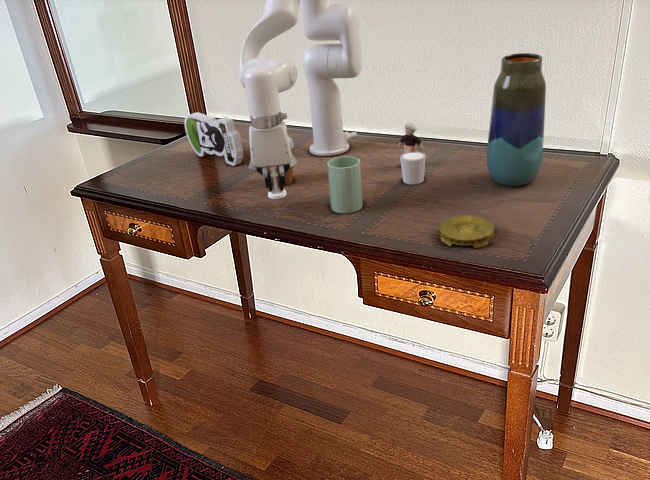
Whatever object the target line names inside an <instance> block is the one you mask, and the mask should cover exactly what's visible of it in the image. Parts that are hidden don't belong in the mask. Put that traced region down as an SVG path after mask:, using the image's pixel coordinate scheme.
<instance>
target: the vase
mask: <svg viewBox="0 0 650 480" xmlns="http://www.w3.org/2000/svg"><path fill="white" fill-rule="evenodd" d="M542 67H543V56H542V55H540V54H538V53H530V52H529V53H528V52H521V53H520V52H519V53H512V54H508V55H505V56H503V57H502V58H501V62H500V71H499V74H498V76H497V78H496V80H495V82H494V85H493V92H492V99H491V100H492V101H491V109H490V118H489V128H488V137H487V148H486V166H487V171H488V173H489V175H490V176H491V178H492V179H493V180H494V182H495V183H498V184H500V185H502V186H506V187H507V186H508V187H520V186H525V185H526V184H528V183H530V182H532V181H533V180H534V179H535V177H536V176H537V175H538V173H539V172H540V169H541V167H542V162H543V157H544V156H543V154H544V145H545V144H544V143H545V142H544V141H545V122H546V121H545V120H546V101H547V99H546V98H547V82H546V79H545V76H544V73H543V71H542V70H543V69H542Z"/></svg>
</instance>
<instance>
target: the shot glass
mask: <svg viewBox="0 0 650 480" xmlns="http://www.w3.org/2000/svg"><path fill="white" fill-rule="evenodd" d="M426 157H427V154H426V153H423V152H420V151H416V152H408V153H404V152H403V153H402V154H401V155H400V156H399V159H400V166H401V168H400V169H401V177H402V181H403V183H404V184H407V185H419V184H422V183H423V182H424V179H425V169H426V159H427V158H426Z"/></svg>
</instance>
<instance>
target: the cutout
mask: <svg viewBox="0 0 650 480" xmlns="http://www.w3.org/2000/svg"><path fill="white" fill-rule="evenodd" d="M183 122H184V130H185V133H186V137H187V140H188V142H189V144H190V146H191V148H192V150H193V151H194V152H195V153H196V154H197V156H198V157H204V156H207V155H214V154H215V155H216V156H219V157H223V156H224V157H223V158H224V161H225V163H226V164H227V165H230V166H237V165H239V164H241V163H242V161H243V159H244V148H243V143H242V139H241V134H240V132H239V130H237V129H236V127H235V121H234V120H233V119H232V118H230V117H226V116H223V117H221V118H219V119H216V117H214V116H212V115H207V114H205V113H201V112H198V111H197V112H193V113H190V114H188V115H186V116H185V118H184V121H183Z"/></svg>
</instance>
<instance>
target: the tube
mask: <svg viewBox="0 0 650 480" xmlns="http://www.w3.org/2000/svg"><path fill="white" fill-rule="evenodd" d="M361 169H362V167H361V160H360V158H358V157H356V156H351V155H345V156H337V157H334V158H333V157H332V158H331V159H329V160H328V161H327V163H326V170H327V178H328V179H327V180H328V181H327V182H328V191H329V201H330V202H329V203H330V209H331V210H332V211H333V212H335V213H338V214H351V213H354V212H359V210H361V209H362V208H363V206H364V202H363V201H364V200H363V186H362V185H363V184H362V170H361Z"/></svg>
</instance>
